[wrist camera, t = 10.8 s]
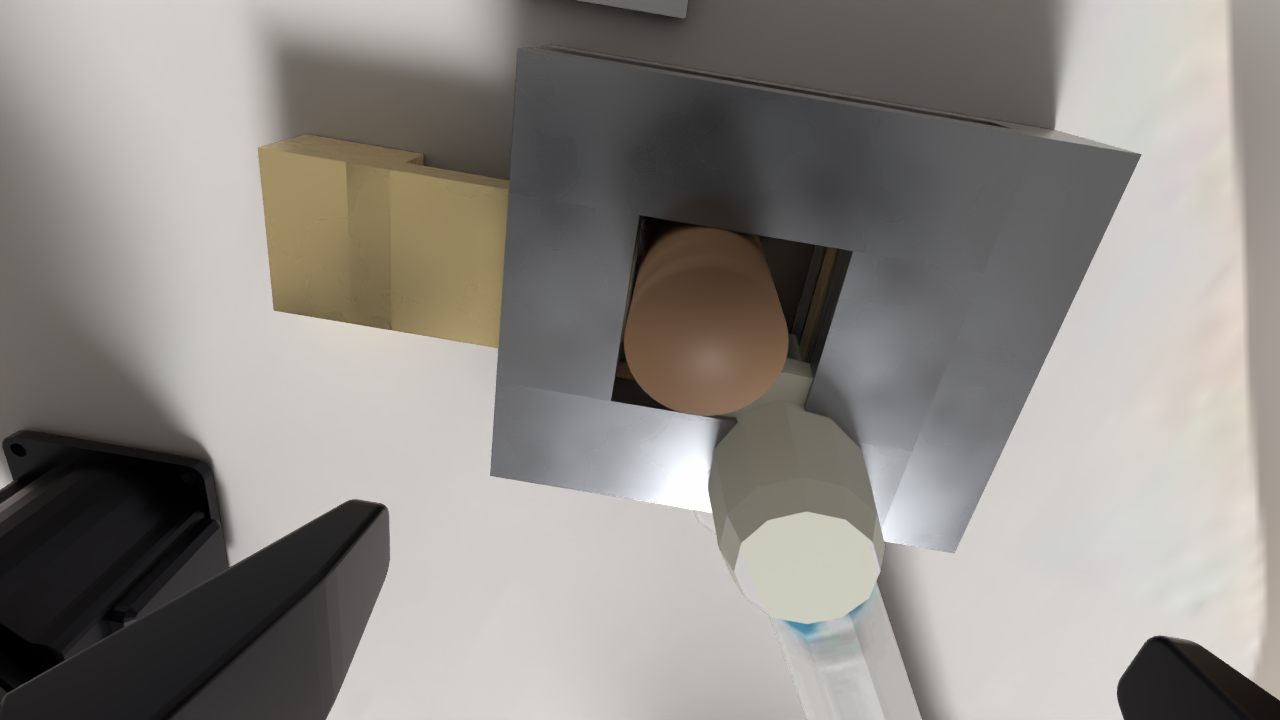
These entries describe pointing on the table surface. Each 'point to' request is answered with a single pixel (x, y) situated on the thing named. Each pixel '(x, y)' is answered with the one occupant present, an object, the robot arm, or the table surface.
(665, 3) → the grey mat
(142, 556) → the robot arm
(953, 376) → the grey block with slider
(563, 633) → the table surface
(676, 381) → the walnut peg
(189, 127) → the table surface
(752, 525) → the white long cylinder
